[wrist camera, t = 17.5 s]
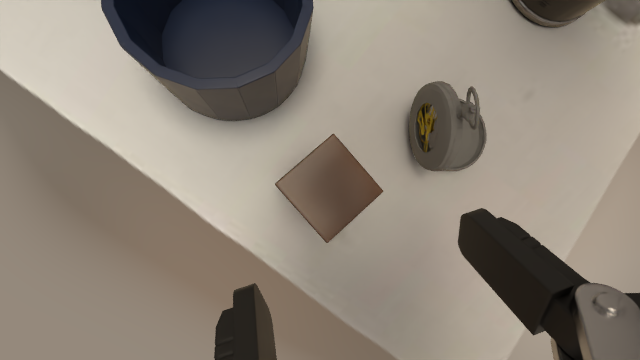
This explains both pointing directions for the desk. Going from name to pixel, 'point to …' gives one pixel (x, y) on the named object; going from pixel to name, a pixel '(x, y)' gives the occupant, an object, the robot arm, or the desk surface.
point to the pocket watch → (446, 128)
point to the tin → (217, 49)
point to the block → (329, 188)
